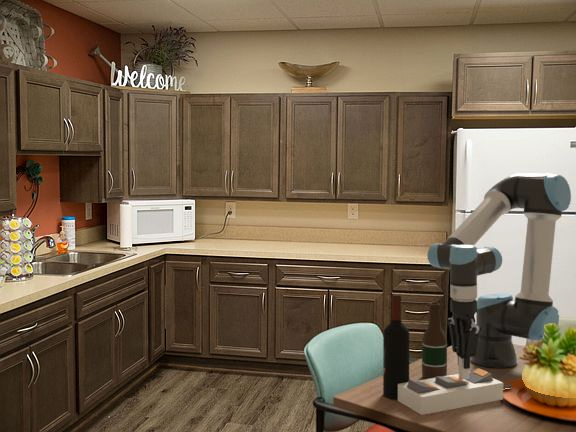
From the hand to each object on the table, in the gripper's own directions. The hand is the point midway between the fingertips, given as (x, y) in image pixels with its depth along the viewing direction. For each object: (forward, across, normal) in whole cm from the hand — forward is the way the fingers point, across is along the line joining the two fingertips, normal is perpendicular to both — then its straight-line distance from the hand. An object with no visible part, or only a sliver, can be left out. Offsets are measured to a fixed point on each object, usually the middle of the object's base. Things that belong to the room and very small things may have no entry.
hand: (464, 378), depth 196 cm
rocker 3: (+2, 0, +5) cm, 5 cm away
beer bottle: (+6, -19, +3) cm, 20 cm away
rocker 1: (+2, 0, -15) cm, 15 cm away
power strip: (+6, 0, -1) cm, 6 cm away
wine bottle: (+6, -10, -17) cm, 20 cm away
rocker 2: (+2, 0, -5) cm, 5 cm away
